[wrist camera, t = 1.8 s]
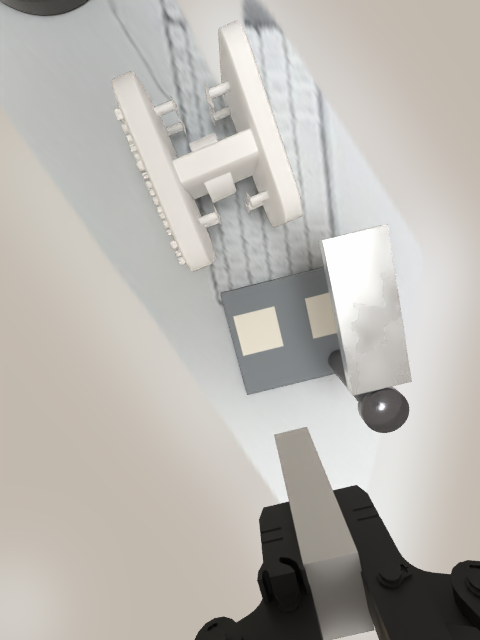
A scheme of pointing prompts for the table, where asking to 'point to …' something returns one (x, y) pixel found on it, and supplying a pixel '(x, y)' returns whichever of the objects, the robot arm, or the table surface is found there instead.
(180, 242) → the cable organizer
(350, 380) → the grey lever handle
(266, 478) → the table surface
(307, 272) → the label board
